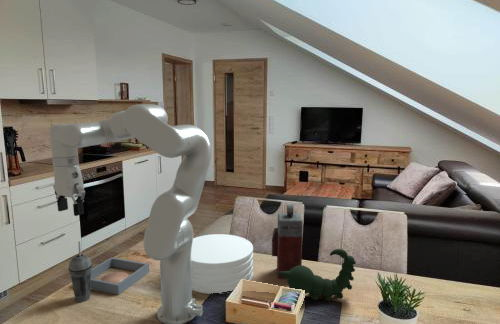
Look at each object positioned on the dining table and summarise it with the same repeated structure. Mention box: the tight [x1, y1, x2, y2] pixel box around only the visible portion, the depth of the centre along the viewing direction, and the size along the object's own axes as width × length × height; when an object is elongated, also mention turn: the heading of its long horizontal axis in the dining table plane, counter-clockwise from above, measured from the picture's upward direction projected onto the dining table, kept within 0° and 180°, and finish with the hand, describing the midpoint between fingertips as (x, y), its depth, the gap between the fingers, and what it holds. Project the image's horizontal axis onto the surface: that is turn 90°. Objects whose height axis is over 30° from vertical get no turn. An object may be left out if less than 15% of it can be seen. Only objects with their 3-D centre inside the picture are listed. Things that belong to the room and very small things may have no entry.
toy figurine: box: [279, 248, 357, 303], centre depth 123 cm, size 9×19×25 cm
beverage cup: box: [67, 241, 93, 303], centre depth 121 cm, size 7×7×20 cm
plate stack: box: [191, 233, 254, 295], centre depth 139 cm, size 28×28×12 cm
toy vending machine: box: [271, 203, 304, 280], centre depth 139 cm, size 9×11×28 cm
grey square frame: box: [91, 256, 150, 295], centre depth 136 cm, size 18×18×4 cm
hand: (71, 212), depth 120 cm, fingers open, 9 cm apart
